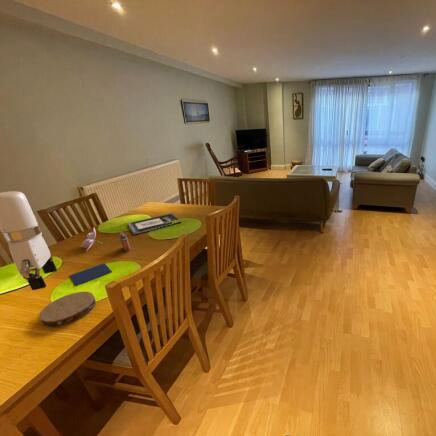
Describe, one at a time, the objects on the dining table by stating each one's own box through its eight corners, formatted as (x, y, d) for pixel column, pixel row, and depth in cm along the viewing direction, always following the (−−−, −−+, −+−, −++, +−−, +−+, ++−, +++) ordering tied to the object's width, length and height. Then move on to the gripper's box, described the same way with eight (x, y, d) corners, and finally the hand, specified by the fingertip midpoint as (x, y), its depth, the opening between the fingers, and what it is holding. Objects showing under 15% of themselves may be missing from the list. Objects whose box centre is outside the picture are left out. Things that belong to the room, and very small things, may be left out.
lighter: (121, 247, 140) (116, 232, 136) (128, 245, 142) (123, 230, 138) (125, 252, 135) (120, 236, 131) (132, 250, 137) (127, 234, 133)
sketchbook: (181, 223, 174) (181, 220, 173) (134, 235, 155) (133, 232, 154) (171, 214, 188) (171, 212, 188) (127, 225, 170) (126, 222, 169)
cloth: (75, 286, 108) (75, 285, 107) (69, 276, 115) (69, 275, 114) (112, 271, 118) (111, 271, 117) (104, 263, 125) (104, 262, 124)
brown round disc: (105, 298, 100) (103, 292, 99) (69, 329, 85) (66, 322, 84) (71, 296, 101) (68, 290, 100) (30, 325, 87) (26, 319, 86)
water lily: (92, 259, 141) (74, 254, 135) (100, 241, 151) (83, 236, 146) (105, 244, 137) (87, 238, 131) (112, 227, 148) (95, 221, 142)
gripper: (19, 224, 77) (41, 269, 84) (-12, 248, 63) (17, 299, 70) (50, 220, 80) (68, 263, 87) (27, 242, 66) (51, 291, 73)
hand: (45, 279), depth 78 cm, fingers open, 9 cm apart
